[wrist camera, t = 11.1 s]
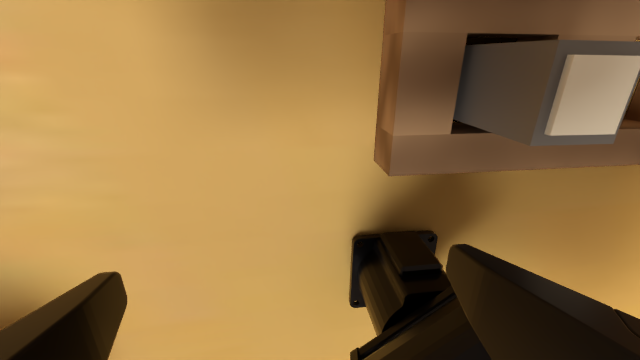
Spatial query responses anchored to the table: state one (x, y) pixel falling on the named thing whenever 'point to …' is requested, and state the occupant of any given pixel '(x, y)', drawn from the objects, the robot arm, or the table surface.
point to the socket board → (444, 75)
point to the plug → (548, 90)
